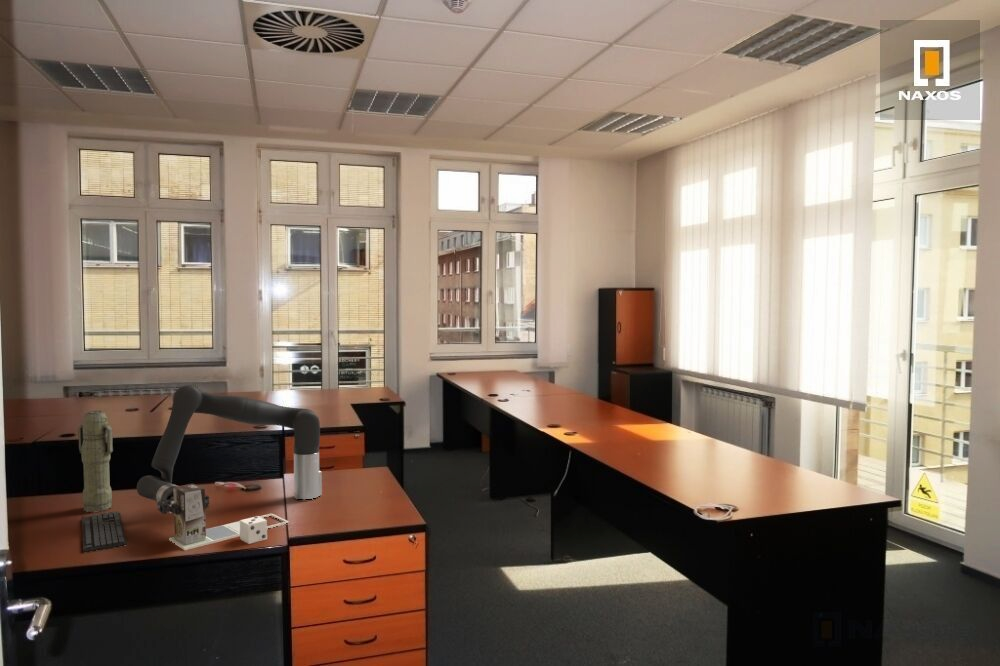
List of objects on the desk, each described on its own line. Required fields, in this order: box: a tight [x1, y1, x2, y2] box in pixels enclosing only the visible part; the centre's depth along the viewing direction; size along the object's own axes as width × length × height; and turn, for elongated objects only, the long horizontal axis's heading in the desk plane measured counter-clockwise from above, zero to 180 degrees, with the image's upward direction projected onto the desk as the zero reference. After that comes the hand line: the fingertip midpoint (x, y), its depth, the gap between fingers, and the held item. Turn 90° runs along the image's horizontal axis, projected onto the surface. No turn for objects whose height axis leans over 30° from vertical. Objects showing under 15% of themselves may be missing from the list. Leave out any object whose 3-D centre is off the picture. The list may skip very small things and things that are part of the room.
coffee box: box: [173, 483, 207, 544], centre depth 213 cm, size 9×6×16 cm
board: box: [169, 513, 290, 551], centre depth 222 cm, size 34×12×1 cm, turn 136°
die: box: [239, 515, 268, 545], centre depth 216 cm, size 6×6×6 cm
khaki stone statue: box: [77, 410, 114, 512], centre depth 245 cm, size 9×12×35 cm
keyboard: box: [81, 511, 128, 553], centre depth 222 cm, size 35×11×2 cm, turn 32°
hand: (192, 508), depth 212 cm, fingers open, 8 cm apart
